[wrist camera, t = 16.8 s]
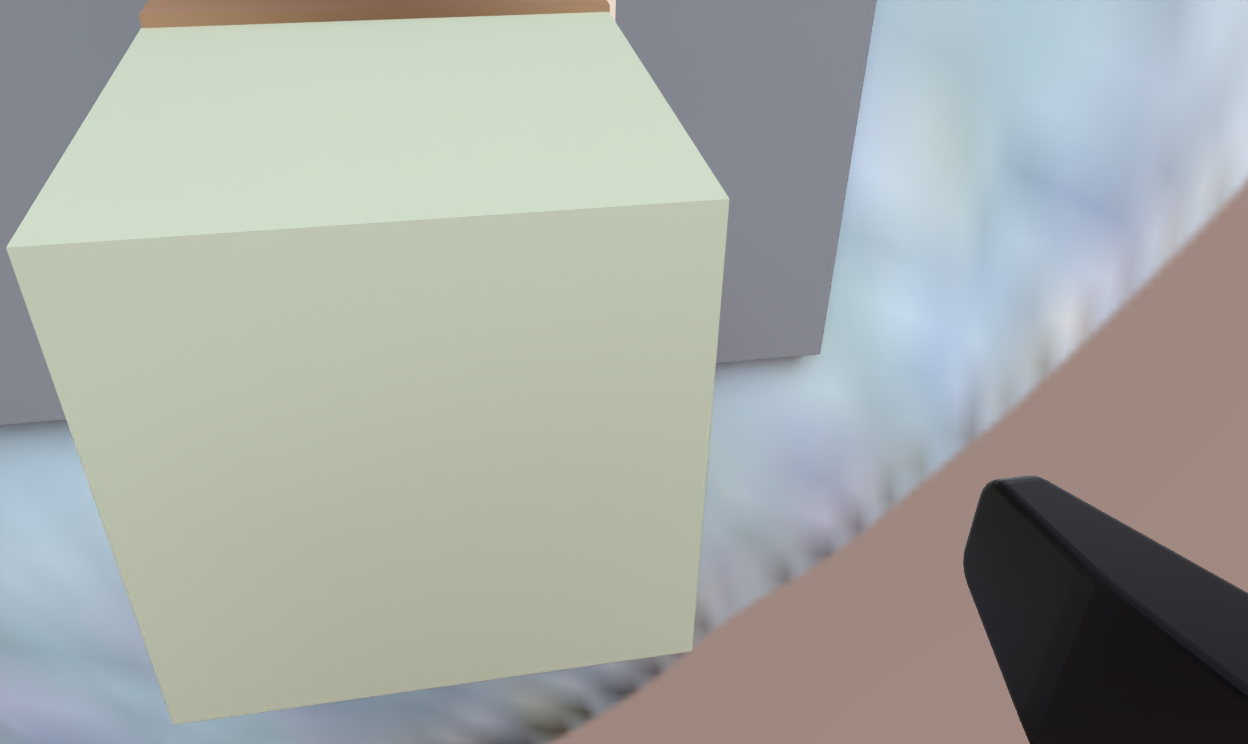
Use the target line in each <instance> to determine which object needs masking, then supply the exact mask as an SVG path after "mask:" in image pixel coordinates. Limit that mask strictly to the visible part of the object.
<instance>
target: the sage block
mask: <svg viewBox="0 0 1248 744" xmlns="http://www.w3.org/2000/svg"><path fill="white" fill-rule="evenodd" d="M728 211H729V197H728V196H727V194H726V193H725V191H724V190H723V188H722V187H721V185H720V183H719V182H718V180H717V179H716V177H715V176H714V174H713V173H712V171H711V169H710V168H709V166H708V165H707V163H706V162H705V160H704V159H703V157H702V155H701V154H700V152H699V151H698V149H697V148H696V146H695V145H694V143H693V141H692V140H691V138H690V137H689V135H688V134H687V132H686V131H685V129H684V128H683V126H682V124H681V123H680V121H679V120H678V118H677V117H676V115H675V114H674V112H673V110H672V109H671V107H670V106H669V104H668V103H667V101H666V100H665V98H664V96H663V95H662V93H661V92H660V90H659V89H658V87H657V86H656V84H655V82H654V81H653V79H652V78H651V76H650V75H649V73H648V72H647V70H646V69H645V67H644V65H643V64H642V62H641V61H640V59H639V58H638V56H637V55H636V53H635V51H634V50H633V48H632V47H631V45H630V44H629V42H628V41H627V39H626V37H625V36H624V34H623V33H622V31H621V30H620V28H619V27H618V25H617V23H616V22H615V20H614V19H613V17H612V16H611V14H610V13H609V12H586V13H558V14H530V15H501V16H473V17H445V18H417V19H388V20H360V21H332V22H304V23H275V24H247V25H219V26H191V27H162V28H141V29H140V31H139V32H138V34H137V35H136V37H135V39H134V40H133V42H132V44H131V45H130V47H129V48H128V50H127V52H126V53H125V55H124V57H123V58H122V60H121V61H120V63H119V65H118V66H117V68H116V70H115V71H114V73H113V74H112V76H111V78H110V79H109V81H108V83H107V84H106V86H105V87H104V89H103V91H102V92H101V94H100V96H99V97H98V99H97V100H96V102H95V104H94V105H93V107H92V109H91V110H90V112H89V113H88V115H87V117H86V118H85V120H84V122H83V123H82V125H81V127H80V128H79V130H78V131H77V133H76V135H75V136H74V138H73V140H72V141H71V143H70V144H69V146H68V148H67V149H66V151H65V153H64V154H63V156H62V157H61V159H60V161H59V162H58V164H57V166H56V167H55V169H54V170H53V172H52V174H51V175H50V177H49V179H48V180H47V182H46V183H45V185H44V187H43V188H42V190H41V192H40V193H39V195H38V196H37V198H36V200H35V201H34V203H33V205H32V206H31V208H30V209H29V211H28V213H27V214H26V216H25V218H24V219H23V221H22V222H21V224H20V226H19V227H18V229H17V231H16V232H15V234H14V235H13V237H12V239H11V240H10V242H9V244H8V245H7V247H6V249H7V252H8V255H9V258H10V261H11V264H12V266H13V269H14V272H15V275H16V278H17V281H18V283H19V286H20V289H21V292H22V295H23V298H24V301H25V303H26V306H27V309H28V312H29V315H30V318H31V321H32V323H33V326H34V329H35V332H36V335H37V338H38V341H39V343H40V346H41V349H42V352H43V355H44V358H45V360H46V363H47V366H48V369H49V372H50V375H51V378H52V380H53V383H54V386H55V389H56V392H57V395H58V398H59V400H60V403H61V406H62V409H63V412H64V415H65V417H66V420H67V423H68V426H69V429H70V432H71V435H72V437H73V440H74V443H75V446H76V449H77V452H78V455H79V457H80V460H81V463H82V466H83V469H84V472H85V474H86V477H87V480H88V483H89V486H90V489H91V492H92V494H93V497H94V500H95V503H96V506H97V509H98V512H99V514H100V517H101V520H102V523H103V526H104V529H105V532H106V534H107V537H108V540H109V543H110V546H111V549H112V551H113V554H114V557H115V560H116V563H117V566H118V569H119V571H120V574H121V577H122V580H123V583H124V586H125V589H126V591H127V594H128V597H129V600H130V603H131V606H132V608H133V611H134V614H135V617H136V620H137V623H138V626H139V628H140V631H141V634H142V637H143V640H144V643H145V646H146V648H147V651H148V654H149V657H150V660H151V663H152V665H153V668H154V671H155V674H156V677H157V680H158V683H159V685H160V688H161V691H162V694H163V697H164V700H165V703H166V705H167V708H168V711H169V714H170V717H171V720H172V723H173V725H175V724H182V723H189V722H196V721H204V720H211V719H218V718H225V717H232V716H239V715H246V714H253V713H260V712H267V711H274V710H281V709H288V708H295V707H302V706H309V705H316V704H323V703H330V702H337V701H345V700H352V699H359V698H366V697H373V696H380V695H387V694H394V693H401V692H408V691H415V690H422V689H429V688H436V687H443V686H450V685H457V684H464V683H471V682H478V681H485V680H493V679H500V678H507V677H514V676H521V675H528V674H535V673H542V672H549V671H556V670H563V669H570V668H577V667H584V666H591V665H598V664H605V663H612V662H619V661H626V660H634V659H641V658H648V657H655V656H662V655H669V654H676V653H683V652H690V651H692V647H693V635H694V623H695V611H696V599H697V587H698V575H699V563H700V551H701V538H702V526H703V514H704V502H705V490H706V478H707V466H708V454H709V441H710V429H711V417H712V405H713V393H714V381H715V369H716V357H717V344H718V332H719V320H720V308H721V296H722V284H723V272H724V260H725V248H726V235H727V223H728Z"/></svg>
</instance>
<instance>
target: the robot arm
mask: <svg viewBox="0 0 1248 744" xmlns="http://www.w3.org/2000/svg"><path fill="white" fill-rule="evenodd" d="M963 564H964V573H965V577H966V580H967V584H968V587H969V589H970V592H971V595H972V597H973V600H974V602H975V605H976V607H977V610H978V613H979V615H980V618H981V620H982V623H983V625H984V628H985V631H986V633H987V636H988V639H989V641H990V644H991V646H992V649H993V651H994V654H995V657H996V659H997V662H998V664H999V667H1000V669H1001V672H1002V675H1003V677H1004V680H1005V682H1006V685H1007V688H1008V690H1009V693H1010V695H1011V698H1012V701H1013V703H1014V706H1015V708H1016V710H1017V714H1018V716H1019V719H1020V721H1021V723H1022V726H1023V728H1024V731H1025V733H1026V736H1027V738H1028V740H1029V742H1030V744H1248V593H1247V592H1245V591H1243V590H1241V589H1240V588H1238V587H1236V586H1234V585H1233V584H1231V583H1229V582H1227V581H1225V580H1224V579H1222V578H1220V577H1218V576H1216V575H1215V574H1213V573H1211V572H1209V571H1208V570H1206V569H1204V568H1202V567H1200V566H1198V565H1197V564H1195V563H1193V562H1191V561H1190V560H1188V559H1186V558H1184V557H1183V556H1181V555H1179V554H1177V553H1175V552H1174V551H1172V550H1170V549H1168V548H1167V547H1165V546H1163V545H1161V544H1159V543H1158V542H1156V541H1154V540H1152V539H1150V538H1149V537H1147V536H1145V535H1143V534H1142V533H1140V532H1138V531H1136V530H1134V529H1133V528H1131V527H1129V526H1127V525H1125V524H1124V523H1122V522H1120V521H1118V520H1117V519H1115V518H1113V517H1111V516H1109V515H1108V514H1106V513H1104V512H1102V511H1100V510H1099V509H1097V508H1095V507H1093V506H1091V505H1090V504H1088V503H1086V502H1084V501H1083V500H1081V499H1079V498H1077V497H1075V496H1074V495H1072V494H1070V493H1068V492H1067V491H1065V490H1063V489H1061V488H1059V487H1058V486H1056V485H1054V484H1052V483H1050V482H1049V481H1047V480H1045V479H1042V478H1041V477H1037V476H1021V477H1013V478H1004V479H996V480H993V481H991V482H989V483H988V484H987V485H986V486H985V487H984V488H983V490H982V492H981V495H980V499H979V502H978V505H977V509H976V512H975V515H974V519H973V522H972V526H971V529H970V533H969V536H968V540H967V543H966V547H965V551H964V561H963Z"/></svg>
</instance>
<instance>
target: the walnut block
mask: <svg viewBox="0 0 1248 744" xmlns="http://www.w3.org/2000/svg"><path fill="white" fill-rule="evenodd" d="M586 12H609V13H610V4H609V3H608V1H607V0H148V1H147V2H146V4H145V6H144V7H143V9H142V10H141V12H140V13H139V18H140V22H141V27H142V28H162V27H191V26H219V25H247V24H275V23H304V22H332V21H360V20H388V19H417V18H445V17H473V16H501V15H530V14H558V13H586Z"/></svg>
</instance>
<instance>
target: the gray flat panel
mask: <svg viewBox="0 0 1248 744" xmlns="http://www.w3.org/2000/svg"><path fill="white" fill-rule="evenodd" d="M147 1H148V0H0V425H7V424H19V423H30V422H42V421H53V420H65V419H66V417H65V415H64V412H63V409H62V406H61V403H60V400H59V398H58V395H57V392H56V389H55V386H54V383H53V380H52V378H51V375H50V372H49V369H48V366H47V363H46V360H45V358H44V355H43V352H42V349H41V346H40V343H39V341H38V338H37V335H36V332H35V329H34V326H33V323H32V321H31V318H30V315H29V312H28V309H27V306H26V303H25V301H24V298H23V295H22V292H21V289H20V286H19V283H18V281H17V278H16V275H15V272H14V269H13V266H12V264H11V261H10V258H9V255H8V252H7V249H6V247H7V245H8V244H9V242H10V240H11V239H12V237H13V235H14V234H15V232H16V231H17V229H18V227H19V226H20V224H21V222H22V221H23V219H24V218H25V216H26V214H27V213H28V211H29V209H30V208H31V206H32V205H33V203H34V201H35V200H36V198H37V196H38V195H39V193H40V192H41V190H42V188H43V187H44V185H45V183H46V182H47V180H48V179H49V177H50V175H51V174H52V172H53V170H54V169H55V167H56V166H57V164H58V162H59V161H60V159H61V157H62V156H63V154H64V153H65V151H66V149H67V148H68V146H69V144H70V143H71V141H72V140H73V138H74V136H75V135H76V133H77V131H78V130H79V128H80V127H81V125H82V123H83V122H84V120H85V118H86V117H87V115H88V113H89V112H90V110H91V109H92V107H93V105H94V104H95V102H96V100H97V99H98V97H99V96H100V94H101V92H102V91H103V89H104V87H105V86H106V84H107V83H108V81H109V79H110V78H111V76H112V74H113V73H114V71H115V70H116V68H117V66H118V65H119V63H120V61H121V60H122V58H123V57H124V55H125V53H126V52H127V50H128V48H129V47H130V45H131V44H132V42H133V40H134V39H135V37H136V35H137V34H138V32H139V31H140V29H141V28H142V27H141V22H140V18H139V13H140V12H141V10H142V9H143V7H144V6H145V4H146V2H147ZM607 1H608V3H609V4H610V14H611V16H612V17H613V19H614V20H615V22H616V23H617V25H618V27H619V28H620V30H621V31H622V33H623V34H624V36H625V37H626V39H627V41H628V42H629V44H630V45H631V47H632V48H633V50H634V51H635V53H636V55H637V56H638V58H639V59H640V61H641V62H642V64H643V65H644V67H645V69H646V70H647V72H648V73H649V75H650V76H651V78H652V79H653V81H654V82H655V84H656V86H657V87H658V89H659V90H660V92H661V93H662V95H663V96H664V98H665V100H666V101H667V103H668V104H669V106H670V107H671V109H672V110H673V112H674V114H675V115H676V117H677V118H678V120H679V121H680V123H681V124H682V126H683V128H684V129H685V131H686V132H687V134H688V135H689V137H690V138H691V140H692V141H693V143H694V145H695V146H696V148H697V149H698V151H699V152H700V154H701V155H702V157H703V159H704V160H705V162H706V163H707V165H708V166H709V168H710V169H711V171H712V173H713V174H714V176H715V177H716V179H717V180H718V182H719V183H720V185H721V187H722V188H723V190H724V191H725V193H726V194H727V196H728V197H729V211H728V223H727V235H726V248H725V260H724V272H723V284H722V296H721V308H720V320H719V332H718V344H717V357H716V363H724V362H736V361H748V360H759V359H771V358H782V357H794V356H805V355H817V354H820V351H821V344H822V338H823V332H824V326H825V319H826V313H827V307H828V301H829V294H830V288H831V282H832V275H833V269H834V263H835V257H836V250H837V244H838V238H839V232H840V225H841V219H842V213H843V206H844V200H845V194H846V188H847V181H848V175H849V169H850V163H851V156H852V150H853V144H854V138H855V131H856V125H857V119H858V112H859V106H860V100H861V94H862V87H863V81H864V75H865V69H866V62H867V56H868V50H869V44H870V37H871V31H872V25H873V18H874V12H875V6H876V0H607Z"/></svg>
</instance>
